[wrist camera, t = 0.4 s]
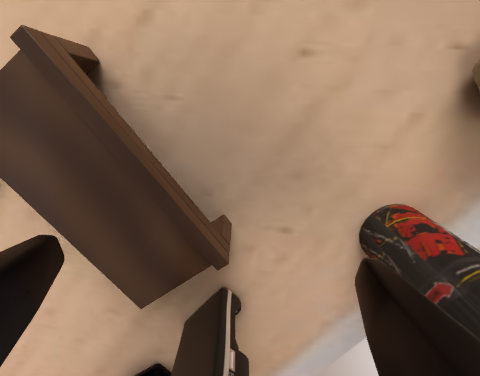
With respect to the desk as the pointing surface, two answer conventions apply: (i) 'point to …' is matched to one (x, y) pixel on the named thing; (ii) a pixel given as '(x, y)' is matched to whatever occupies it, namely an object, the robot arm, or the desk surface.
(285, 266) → the desk surface
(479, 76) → the ceramic sculpture
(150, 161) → the shelf
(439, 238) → the deodorant
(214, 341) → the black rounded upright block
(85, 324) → the desk surface
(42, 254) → the robot arm
